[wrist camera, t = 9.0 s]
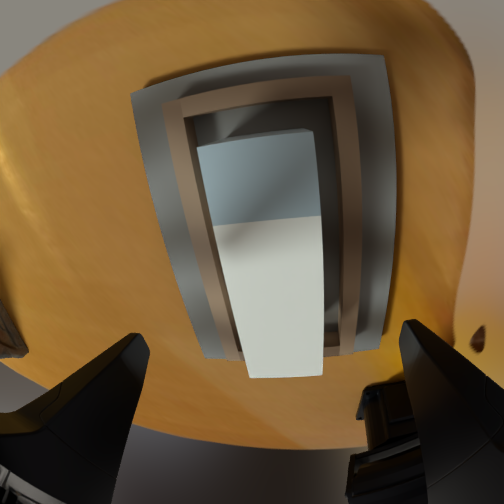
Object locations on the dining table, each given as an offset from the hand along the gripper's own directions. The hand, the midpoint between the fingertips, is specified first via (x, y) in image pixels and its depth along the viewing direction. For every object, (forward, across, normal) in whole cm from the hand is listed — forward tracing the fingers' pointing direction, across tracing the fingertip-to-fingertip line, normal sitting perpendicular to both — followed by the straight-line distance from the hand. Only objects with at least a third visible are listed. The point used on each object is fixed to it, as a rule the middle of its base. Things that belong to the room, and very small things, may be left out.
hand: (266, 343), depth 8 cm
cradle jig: (+9, 0, 0) cm, 9 cm away
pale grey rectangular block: (+8, 0, 0) cm, 8 cm away
